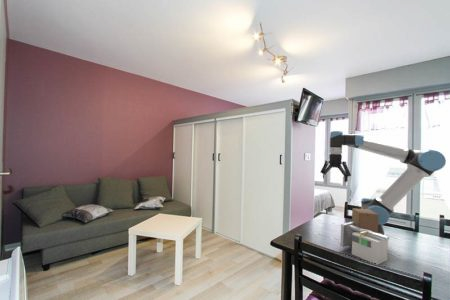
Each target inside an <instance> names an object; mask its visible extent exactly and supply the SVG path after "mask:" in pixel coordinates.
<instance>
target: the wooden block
mask: <svg viewBox="0 0 450 300" xmlns="http://www.w3.org/2000/svg"><path fill="white" fill-rule="evenodd" d="M351 211H352V212H351V222H353V221H354V222H356V226H357V227H360V228H363V229H366V230H369V231H373V232H376V233H378V214H377V213H375V212H373V211H371V210H367V209H361V208H356V207H355V208H354V207H353V208H352V210H351ZM356 232H358V231H357V230H356Z"/></svg>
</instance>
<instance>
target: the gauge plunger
mask: <svg viewBox="0 0 450 300" xmlns="http://www.w3.org/2000/svg"><path fill="white" fill-rule="evenodd" d="M356 230H357V231H360V232H361V233H360V244H362V235H364V234H369V235H372V236H375V237H378V238H381V239H384V240H388V241H389V240H390V236H388V235H385V234H384V235H382V234H379V233H376V232H373V231H369V230H366V229H363V228H360V227H357V226H356V222H354V221H353V222H352V221H349V222H345V223H341V224H340V242H339V243H340V244H339V245H340V247H342V248H345V247H347V246H350V245H351V246H352V233H354V232H356Z"/></svg>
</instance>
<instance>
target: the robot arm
mask: <svg viewBox="0 0 450 300" xmlns="http://www.w3.org/2000/svg"><path fill="white" fill-rule="evenodd" d="M343 146H347V147H350V148H355V149H359V150H362V151H366V152H369V153H372V154H376V155H379V156H383V157H387V158H390V159H394V160H397V161H399V162H400V163H402V164H406V165H407V168H406V170H404V172H402V173H401V174H400V176H399V177H398V178H397V179H396V180H395V181H394V182H393V183H392V184H391V185H390V186H389V187H388V188H387V189H386V190H385V191H384V192H383V193H382V194H381V195H380V196H379V197H374V198H366V197H363V198H361V201H360V203H361V206H360V209H367V210H371V211H373V212H375V213H377V214H378V233H379V234H382V235H385V230H384V227H383V225H385V224H386V223H388V221H389V219H390V216H392V214H393V213H394V211H395V210H394V208H395V207H396V206H397V205H398V204H399V203H400V202H401V201H402V200H403V199H404V198H405V197H406V196H407V195H408V194H409V193H410V191H412V190H413V189H414V188H415V186H417V185H418V184H419V183H420V182H421V181H422V180H423V179H424V178H429V177H431V176H432V175H433V174H434V172H436V171H440V170H442V169H443V168H444V167H445V166H446V164H447V163H446V162H447V160H446V157H445V155H444V154H443V153H441V152H440V151H438V150H435V149H434V150H433V149H424V150H416V149H410V148H405V149H403V148H400V147H397V146H396V147H395V146H392V145H389V144H386V143H385V144H384V143H382V142H381V143H380V142H377V141H372V140H369V139H366V138H365V137H364V135H363V134H360V133H357V134H356V133H355V134H353V133H352V134H351V133H350V134H347V133H346V134H345V133H343V131H341V130H333V131H330V134H329V157H328V159H329V160H324V164H323V166H322V168H321V170H320V173H321V174H322V179H323V184H325V185H326V184H328V174H327V173H329V171H331V169H332V168H337V169H338V170H339V171H340V173H341V174H342V175H343V176H342V188H345V187H347V182H348V181H349V180H348V178H349V177H352V174H351V172H350V169H349V167H348V165H347V161H342V160H343V155H342V154H343Z"/></svg>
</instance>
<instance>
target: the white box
mask: <svg viewBox="0 0 450 300" xmlns="http://www.w3.org/2000/svg"><path fill="white" fill-rule="evenodd" d="M360 233H361V232H360V231H358V232H354V233H352V244H351V255H353V256H356V257H357V258H361V259H363V260H365V261H368V262H369V263H372V262H373V263H372V264H374V263H376V264H378V265H380V264H382V263H385V262H386V261H388V248H389V247H388V246H389V239H388V240H384V239H381V238H378V237H375V236H372V235H369V234H364V235H362V244H360ZM376 264H375V265H376Z"/></svg>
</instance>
